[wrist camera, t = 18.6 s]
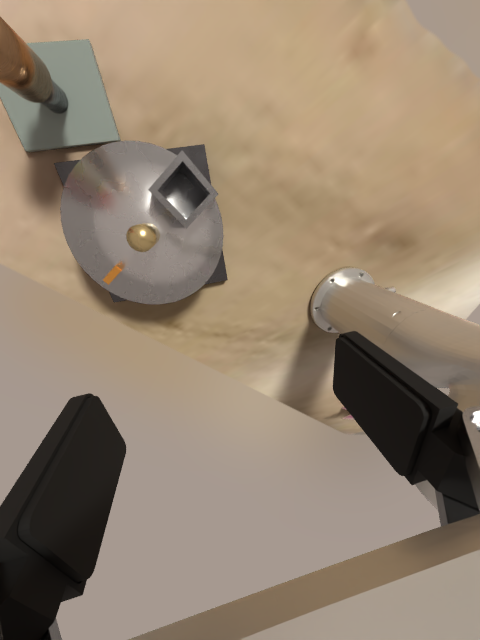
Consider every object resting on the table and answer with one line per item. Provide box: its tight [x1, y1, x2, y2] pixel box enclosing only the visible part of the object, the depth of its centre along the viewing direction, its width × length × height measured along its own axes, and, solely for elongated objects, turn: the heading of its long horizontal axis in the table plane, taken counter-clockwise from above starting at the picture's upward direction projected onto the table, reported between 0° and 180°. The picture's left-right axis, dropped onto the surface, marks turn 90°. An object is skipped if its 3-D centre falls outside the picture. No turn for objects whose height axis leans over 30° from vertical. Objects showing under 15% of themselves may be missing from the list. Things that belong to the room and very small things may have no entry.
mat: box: [0, 39, 121, 152], centre depth 24 cm, size 10×8×1 cm
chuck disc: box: [60, 141, 223, 304], centre depth 24 cm, size 17×17×7 cm
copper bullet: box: [0, 17, 68, 114], centre depth 19 cm, size 4×4×10 cm
